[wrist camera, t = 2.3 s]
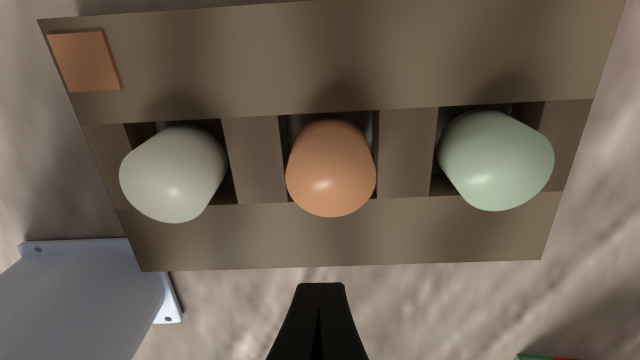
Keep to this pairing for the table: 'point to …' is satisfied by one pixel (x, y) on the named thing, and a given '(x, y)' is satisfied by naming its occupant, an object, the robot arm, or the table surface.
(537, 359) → the stack of blocks
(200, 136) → the cream button
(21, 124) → the table surface
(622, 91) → the table surface
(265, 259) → the panel
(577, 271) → the table surface
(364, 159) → the terracotta button
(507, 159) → the sage button
